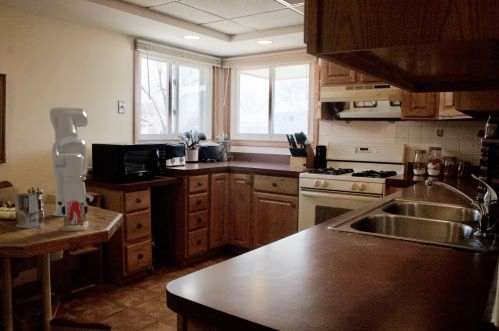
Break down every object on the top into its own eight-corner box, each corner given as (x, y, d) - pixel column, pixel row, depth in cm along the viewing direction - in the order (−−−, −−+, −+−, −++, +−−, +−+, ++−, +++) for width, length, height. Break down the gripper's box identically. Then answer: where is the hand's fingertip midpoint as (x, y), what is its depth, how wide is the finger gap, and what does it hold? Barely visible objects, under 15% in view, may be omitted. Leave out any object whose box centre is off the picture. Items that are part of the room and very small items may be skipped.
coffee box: (40, 225, 209) (39, 193, 207) (29, 228, 203) (28, 195, 201) (26, 224, 212) (25, 192, 210) (15, 226, 206) (14, 194, 204)
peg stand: (65, 225, 209) (64, 214, 209) (88, 225, 212) (88, 213, 211) (61, 231, 199) (60, 218, 198) (85, 230, 201) (85, 217, 201)
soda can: (79, 225, 202) (78, 201, 201) (64, 225, 202) (64, 200, 201) (85, 222, 209) (84, 198, 208) (71, 222, 209) (70, 198, 208)
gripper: (93, 178, 209) (94, 212, 211) (56, 179, 205) (57, 213, 206) (92, 180, 202) (92, 215, 203) (53, 180, 197) (54, 216, 199)
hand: (74, 214), depth 205 cm, fingers open, 9 cm apart
